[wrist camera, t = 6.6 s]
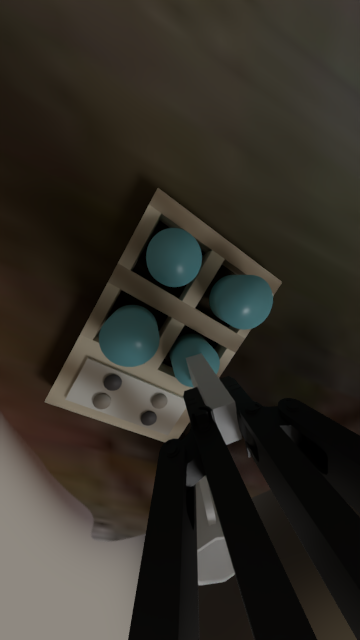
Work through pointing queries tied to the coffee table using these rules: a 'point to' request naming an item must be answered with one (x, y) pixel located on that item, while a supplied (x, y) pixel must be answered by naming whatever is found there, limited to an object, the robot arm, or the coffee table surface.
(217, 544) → the cup
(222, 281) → the button
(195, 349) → the button
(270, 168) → the coffee table surface
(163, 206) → the board
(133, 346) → the button
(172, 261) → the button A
